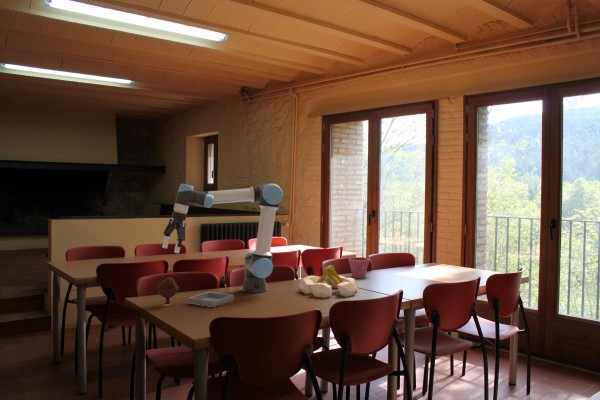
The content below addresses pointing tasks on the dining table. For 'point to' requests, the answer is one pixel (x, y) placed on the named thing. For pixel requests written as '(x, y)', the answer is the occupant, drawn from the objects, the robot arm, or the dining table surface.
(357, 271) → the plant pot
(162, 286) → the brown model tree
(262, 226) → the robot arm
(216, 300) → the tray
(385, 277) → the dining table surface
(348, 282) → the campfire
